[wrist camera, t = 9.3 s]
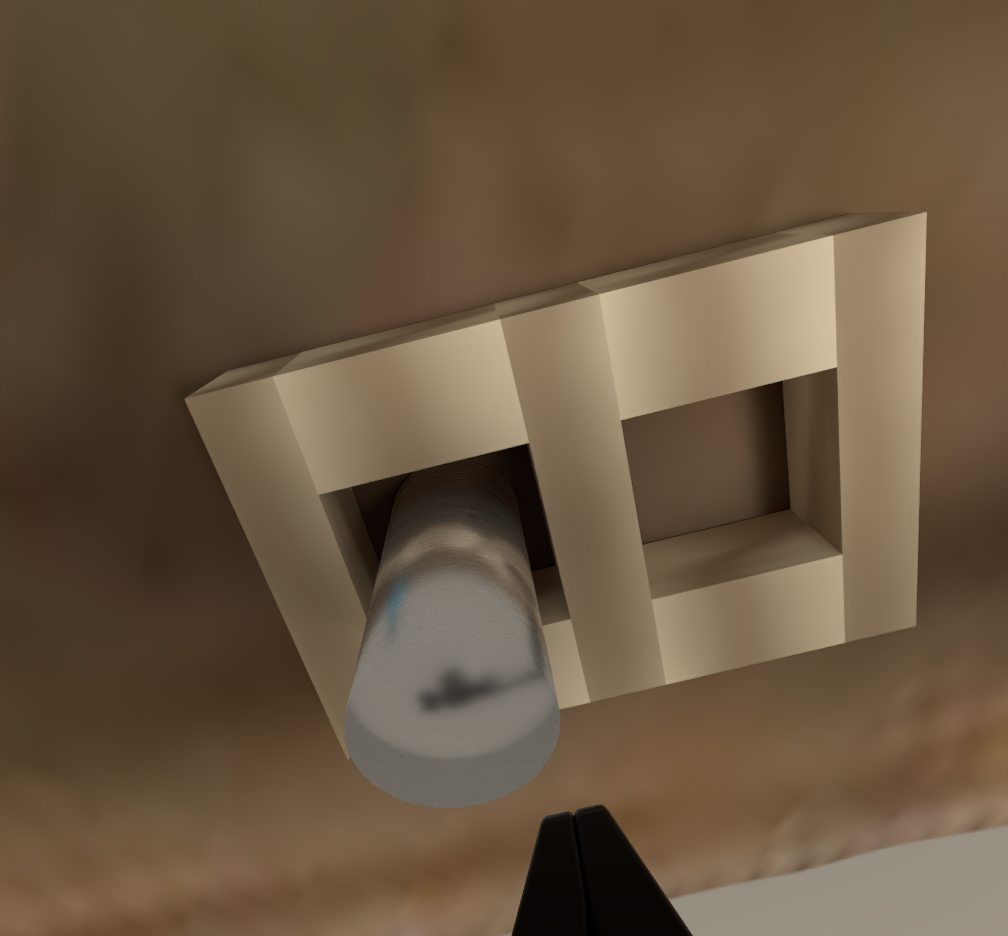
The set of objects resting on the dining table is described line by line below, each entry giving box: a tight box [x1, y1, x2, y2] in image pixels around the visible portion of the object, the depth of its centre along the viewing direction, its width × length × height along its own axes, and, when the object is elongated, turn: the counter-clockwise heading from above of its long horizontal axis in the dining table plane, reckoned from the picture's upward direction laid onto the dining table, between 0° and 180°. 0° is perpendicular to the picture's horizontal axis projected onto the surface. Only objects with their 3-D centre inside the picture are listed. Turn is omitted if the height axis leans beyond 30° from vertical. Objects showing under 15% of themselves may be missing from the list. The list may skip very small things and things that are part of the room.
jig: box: [184, 212, 927, 759], centre depth 18 cm, size 18×12×3 cm, turn 103°
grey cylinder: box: [344, 458, 560, 808], centre depth 16 cm, size 4×4×9 cm
